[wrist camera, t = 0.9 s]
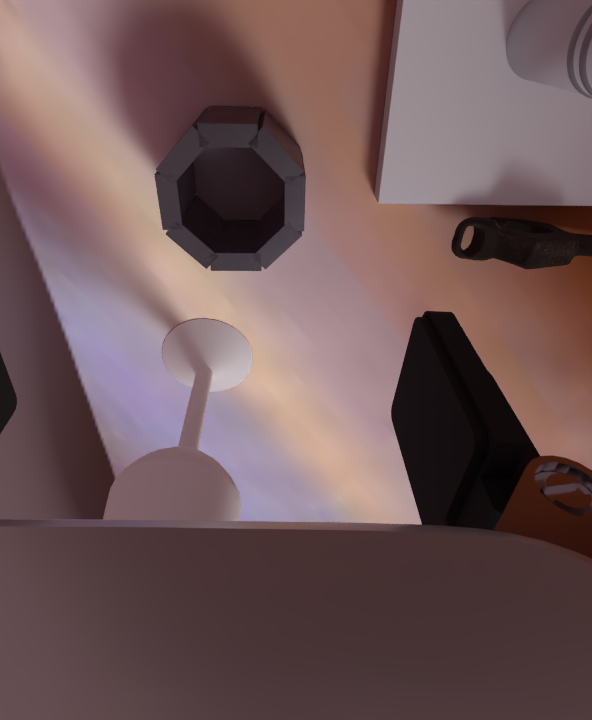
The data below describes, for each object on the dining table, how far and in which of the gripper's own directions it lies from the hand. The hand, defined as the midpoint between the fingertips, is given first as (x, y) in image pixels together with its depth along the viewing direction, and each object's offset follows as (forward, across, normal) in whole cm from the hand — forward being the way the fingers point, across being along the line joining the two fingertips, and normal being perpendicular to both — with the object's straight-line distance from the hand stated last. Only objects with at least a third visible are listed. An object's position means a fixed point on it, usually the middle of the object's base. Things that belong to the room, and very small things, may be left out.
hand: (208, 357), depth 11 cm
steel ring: (+20, 0, +2) cm, 20 cm away
